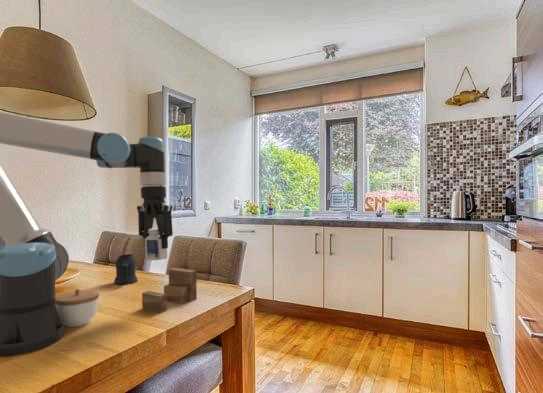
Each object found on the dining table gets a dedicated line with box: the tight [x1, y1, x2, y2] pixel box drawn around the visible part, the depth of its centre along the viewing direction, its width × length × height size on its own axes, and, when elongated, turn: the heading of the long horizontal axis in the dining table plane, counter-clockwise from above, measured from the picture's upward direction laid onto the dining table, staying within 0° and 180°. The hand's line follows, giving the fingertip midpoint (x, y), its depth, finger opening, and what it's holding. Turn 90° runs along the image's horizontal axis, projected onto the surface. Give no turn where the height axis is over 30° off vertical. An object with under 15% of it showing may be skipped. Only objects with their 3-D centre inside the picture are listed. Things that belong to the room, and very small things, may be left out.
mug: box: [113, 253, 138, 286], centre depth 132 cm, size 12×9×11 cm
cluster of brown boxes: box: [141, 267, 198, 314], centre depth 105 cm, size 15×10×10 cm, turn 153°
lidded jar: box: [55, 288, 100, 328], centre depth 89 cm, size 11×11×9 cm
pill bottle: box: [146, 227, 160, 261], centre depth 102 cm, size 5×5×10 cm
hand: (156, 258), depth 102 cm, fingers closed on pill bottle, 5 cm apart
